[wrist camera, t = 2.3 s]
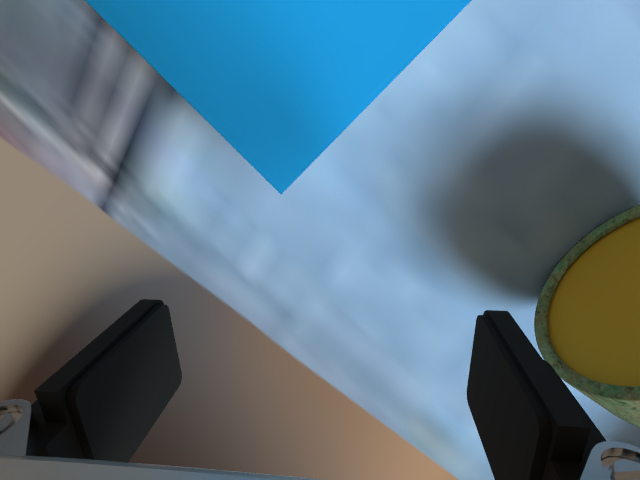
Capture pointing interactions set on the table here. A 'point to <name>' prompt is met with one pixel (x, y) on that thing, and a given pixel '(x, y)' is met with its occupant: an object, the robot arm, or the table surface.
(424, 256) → the table surface
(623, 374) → the decorative artifact
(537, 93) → the table surface
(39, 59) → the table surface
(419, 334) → the table surface
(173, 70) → the book
